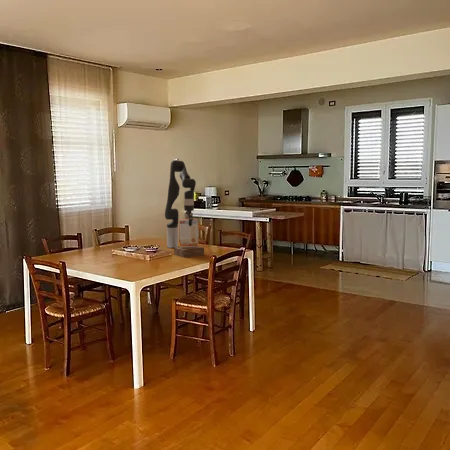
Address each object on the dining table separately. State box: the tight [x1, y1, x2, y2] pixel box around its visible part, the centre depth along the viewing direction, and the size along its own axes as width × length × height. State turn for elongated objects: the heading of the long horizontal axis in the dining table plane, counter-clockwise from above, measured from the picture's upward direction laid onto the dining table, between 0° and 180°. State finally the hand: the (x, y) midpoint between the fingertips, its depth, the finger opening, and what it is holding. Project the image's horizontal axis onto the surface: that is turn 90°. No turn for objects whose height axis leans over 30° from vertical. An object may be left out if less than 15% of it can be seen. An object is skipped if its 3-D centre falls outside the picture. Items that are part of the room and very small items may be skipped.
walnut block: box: [173, 245, 205, 258], centre depth 376 cm, size 14×19×6 cm
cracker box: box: [179, 218, 199, 247], centre depth 374 cm, size 14×6×21 cm, turn 84°
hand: (189, 225), depth 374 cm, fingers closed on cracker box, 7 cm apart
